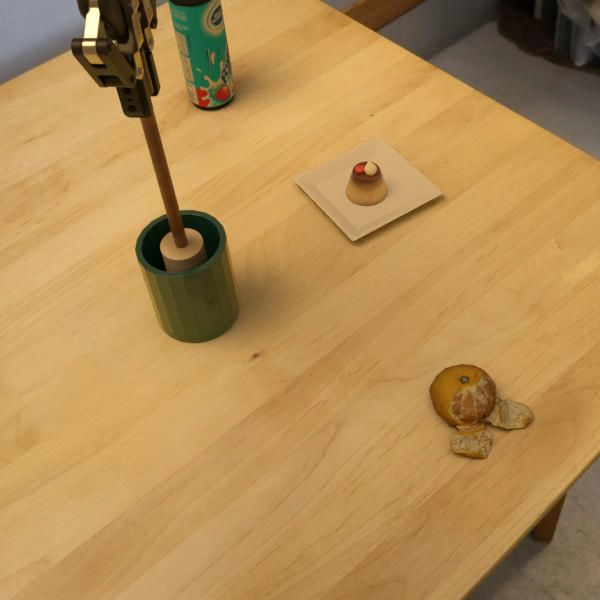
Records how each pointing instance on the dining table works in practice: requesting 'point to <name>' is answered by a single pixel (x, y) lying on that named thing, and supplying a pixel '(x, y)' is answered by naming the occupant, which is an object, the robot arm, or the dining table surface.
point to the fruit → (474, 408)
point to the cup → (190, 281)
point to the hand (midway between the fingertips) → (143, 103)
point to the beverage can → (203, 51)
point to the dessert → (367, 187)
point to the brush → (170, 199)
